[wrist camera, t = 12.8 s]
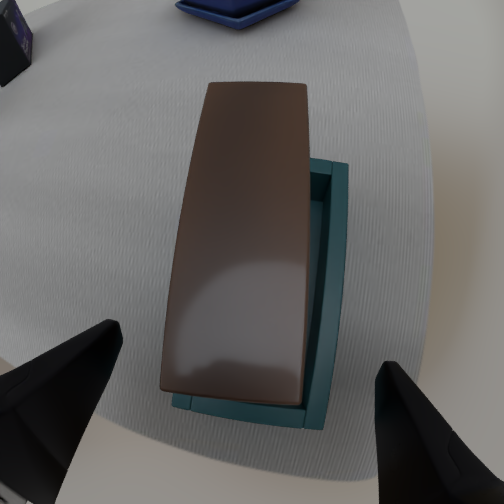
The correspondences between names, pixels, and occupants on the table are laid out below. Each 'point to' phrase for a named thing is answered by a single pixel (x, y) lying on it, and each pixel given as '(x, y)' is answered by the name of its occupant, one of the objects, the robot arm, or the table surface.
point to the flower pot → (234, 10)
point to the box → (13, 41)
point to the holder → (319, 311)
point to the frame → (243, 250)
